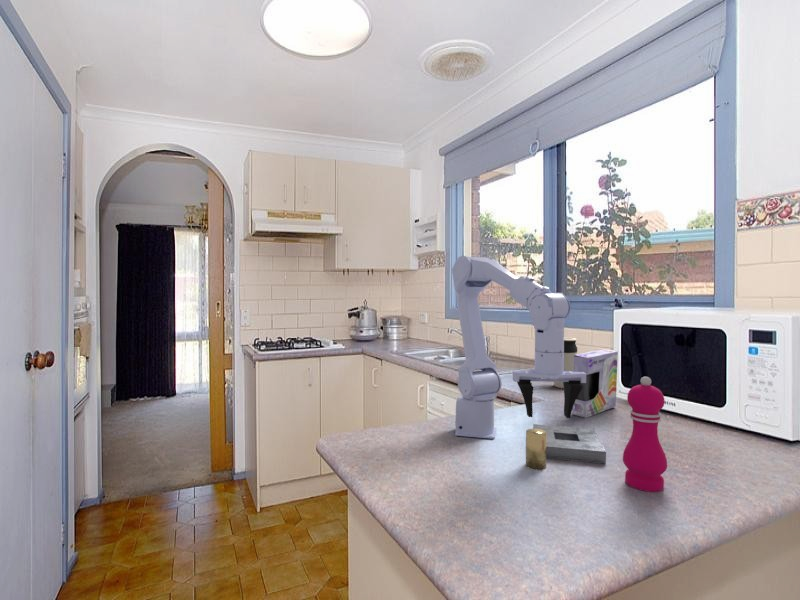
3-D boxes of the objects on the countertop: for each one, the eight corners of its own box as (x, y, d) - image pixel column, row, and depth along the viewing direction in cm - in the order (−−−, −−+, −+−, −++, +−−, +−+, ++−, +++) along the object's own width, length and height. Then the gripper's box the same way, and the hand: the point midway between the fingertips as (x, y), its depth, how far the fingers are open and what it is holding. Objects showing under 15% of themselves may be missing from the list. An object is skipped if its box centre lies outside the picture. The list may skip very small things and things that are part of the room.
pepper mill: (662, 479, 86) (663, 374, 86) (671, 495, 79) (673, 381, 79) (619, 474, 88) (621, 371, 88) (625, 489, 82) (627, 378, 81)
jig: (535, 456, 97) (535, 445, 97) (533, 434, 113) (533, 424, 113) (605, 463, 94) (606, 451, 94) (593, 439, 109) (593, 428, 109)
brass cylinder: (525, 468, 91) (526, 433, 91) (525, 461, 95) (526, 427, 95) (546, 470, 90) (547, 435, 90) (545, 463, 94) (546, 429, 94)
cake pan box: (585, 419, 126) (586, 355, 126) (568, 415, 130) (569, 353, 130) (618, 408, 138) (619, 350, 138) (602, 405, 142) (602, 348, 142)
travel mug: (580, 389, 164) (580, 339, 164) (558, 389, 165) (558, 339, 164) (572, 384, 172) (572, 337, 172) (551, 384, 173) (551, 337, 172)
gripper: (517, 353, 91) (516, 420, 91) (591, 354, 90) (590, 422, 90) (511, 348, 98) (510, 411, 98) (580, 349, 97) (579, 413, 97)
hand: (548, 416), depth 95 cm, fingers open, 7 cm apart
